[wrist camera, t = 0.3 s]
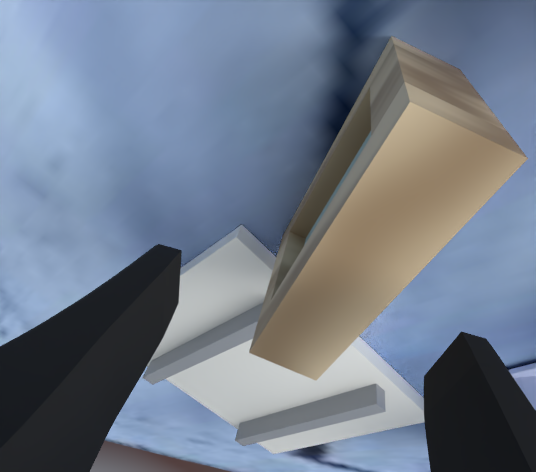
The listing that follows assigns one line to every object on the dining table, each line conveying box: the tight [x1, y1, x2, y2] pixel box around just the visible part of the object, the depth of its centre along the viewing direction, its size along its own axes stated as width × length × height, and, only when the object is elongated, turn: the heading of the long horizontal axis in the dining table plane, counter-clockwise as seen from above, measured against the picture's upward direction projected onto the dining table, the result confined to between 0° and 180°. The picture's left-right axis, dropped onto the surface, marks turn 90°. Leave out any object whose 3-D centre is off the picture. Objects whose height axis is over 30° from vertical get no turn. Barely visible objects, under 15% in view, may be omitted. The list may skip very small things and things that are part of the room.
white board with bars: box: [143, 225, 425, 454], centre depth 28 cm, size 20×16×3 cm
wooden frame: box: [249, 36, 528, 380], centre depth 15 cm, size 3×11×8 cm, turn 159°
